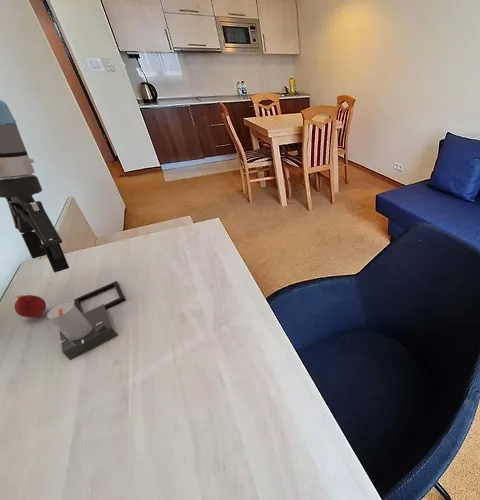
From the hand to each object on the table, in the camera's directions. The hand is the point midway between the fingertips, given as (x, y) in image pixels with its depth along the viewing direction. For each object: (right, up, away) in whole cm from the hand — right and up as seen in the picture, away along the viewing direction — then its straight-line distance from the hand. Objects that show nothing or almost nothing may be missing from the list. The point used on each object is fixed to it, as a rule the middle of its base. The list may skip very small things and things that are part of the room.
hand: (50, 263), depth 75 cm
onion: (-13, -15, +10) cm, 23 cm away
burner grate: (+2, -12, +13) cm, 18 cm away
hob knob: (+8, -17, -1) cm, 19 cm away
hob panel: (+8, -18, +3) cm, 20 cm away
